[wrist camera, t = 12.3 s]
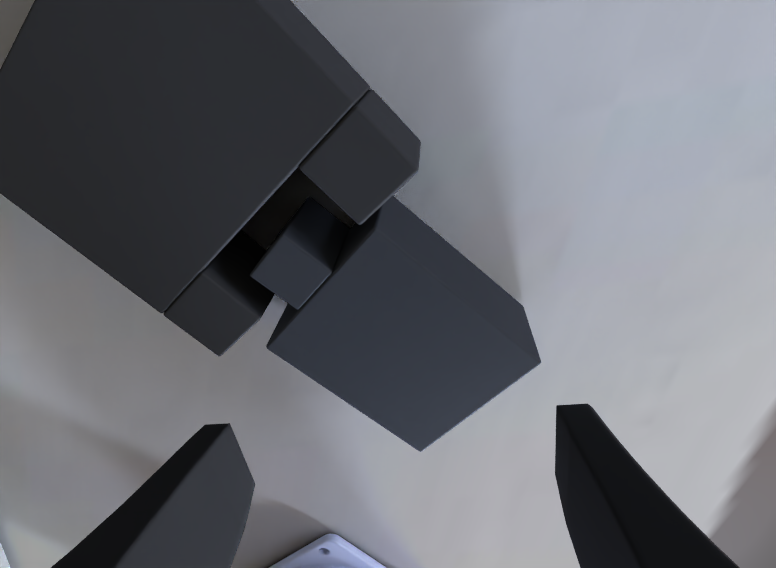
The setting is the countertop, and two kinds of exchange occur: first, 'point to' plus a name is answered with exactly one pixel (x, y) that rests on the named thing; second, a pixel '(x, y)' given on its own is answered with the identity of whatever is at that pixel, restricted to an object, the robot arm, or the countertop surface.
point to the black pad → (186, 141)
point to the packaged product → (3, 559)
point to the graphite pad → (393, 319)
